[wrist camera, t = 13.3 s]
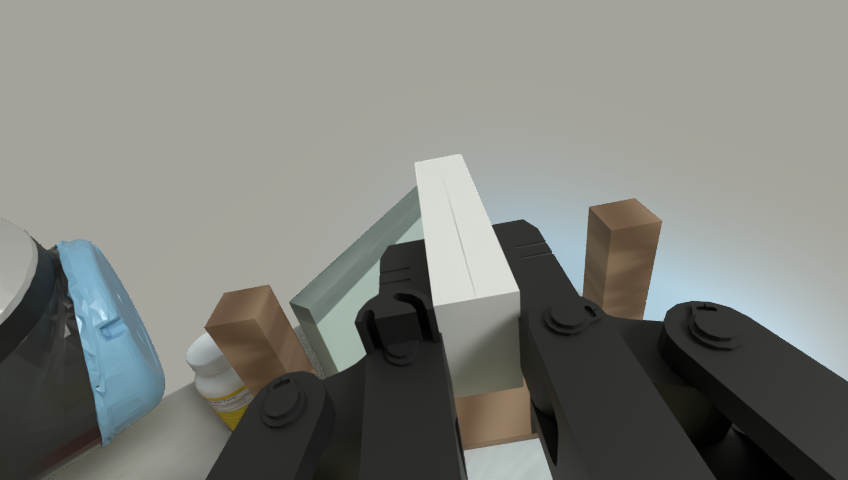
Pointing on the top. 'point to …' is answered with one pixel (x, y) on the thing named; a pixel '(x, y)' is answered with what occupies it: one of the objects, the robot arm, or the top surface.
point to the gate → (352, 287)
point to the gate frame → (479, 414)
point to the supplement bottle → (218, 381)
